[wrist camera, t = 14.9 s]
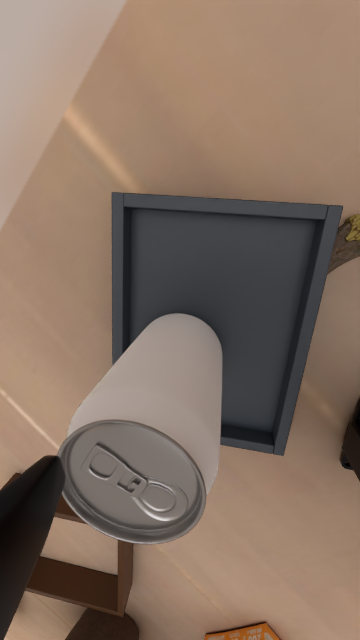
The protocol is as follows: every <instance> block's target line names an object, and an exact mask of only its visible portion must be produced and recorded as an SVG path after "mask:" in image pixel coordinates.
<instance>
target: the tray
mask: <svg viewBox="0 0 360 640" xmlns="http://www.w3.org/2000/svg"><path fill="white" fill-rule="evenodd" d="M342 210H343V206H338V205H322V204H305V203H288V202H271V201H254V200H237V199H220V198H203V197H186V196H169V195H152V194H135V193H118V192H112V357H113V365H114V364H115V363H116V361H117V360H118V359H119V358H120V357H121V356H122V355H123V353H124V352H125V351H126V350H127V349H128V348H129V346H130V345H131V344H132V343H133V342H134V341H135V339H136V338H137V337H138V336H139V335H140V334H141V333H142V332H143V330H144V329H145V328H146V327H147V326H148V325H149V324H150V323H151V322H153V321H154V320H156V319H157V318H159V317H161V316H164V315H168V314H174V313H181V314H187V315H191V316H194V317H196V318H199V319H200V320H202V321H204V322H205V323H206V324H207V325H209V326H210V327H211V328H212V330H213V331H214V332H215V334H216V335H217V337H218V339H219V341H220V344H221V348H222V402H221V434H220V445H225V446H231V447H236V448H242V449H248V450H253V451H259V452H265V453H270V454H272V453H273V454H275V455H281V456H283V455H284V451H285V447H286V443H287V439H288V435H289V431H290V426H291V422H292V418H293V414H294V410H295V406H296V401H297V397H298V393H299V389H300V385H301V381H302V376H303V372H304V368H305V364H306V360H307V356H308V351H309V347H310V343H311V339H312V335H313V331H314V326H315V322H316V318H317V314H318V310H319V305H320V301H321V297H322V293H323V289H324V285H325V280H326V276H327V272H328V268H329V264H330V260H331V255H332V251H333V247H334V243H335V239H336V235H337V230H338V226H339V222H340V218H341V214H342Z"/></svg>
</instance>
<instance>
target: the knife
mask: <svg viewBox="0 0 360 640" xmlns="http://www.w3.org/2000/svg"><path fill="white" fill-rule="evenodd" d="M358 256H360V215H353V216H351V217H349V218H348V219H346V220H345V224H344V225H342V226H341V227H339V228H338V230H337V235H336V239H335V243H334V247H333V251H332V255H331V260H330V264H329V268H328V272H327V274H328V273H330V272H331V271H332V270H334V269H335V268H337V267H338V266H340V265H341V264H343V263H345V262H347V261H349V260H351V259H353V258H356V257H358Z"/></svg>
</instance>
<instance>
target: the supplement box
mask: <svg viewBox="0 0 360 640" xmlns="http://www.w3.org/2000/svg"><path fill="white" fill-rule="evenodd" d="M205 640H280V639H279V638H278V637H277V636H276V634H275V633H274V632H273V631H272V630H271V629H270V627H269V626H268V625H267V624H266V623H264V624H259V625H256V626H251V627H246V628H242V629H237V630H233V631H228V632H223V633H216V634H207V635H205Z"/></svg>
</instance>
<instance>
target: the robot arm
mask: <svg viewBox="0 0 360 640" xmlns="http://www.w3.org/2000/svg"><path fill="white" fill-rule="evenodd" d="M342 450H343V451H342V454H341V457H340V462H341V464H342V466H343V467H344V468H346V469H350V470H354V472H355V474H356V475H357V477H358V479H359V481H360V399H359V401H358V405H357V408H356V411H355V414H354V417H353V420H352V421H351V422H350V423H349V427H348V430H347V433H346V436H345V439H344V442H343V445H342ZM348 461H349V462H348ZM346 462H348V463H346ZM65 479H66V478H65V472H64V468H63V465H62V461H61V458H60V457H59V456H51V455H48V456H44V457H43V458H41V459H40V460H39V461H37V462H36V463H35V464H34V465H32V466H31V467H30V468H28V469H27V470H26V471H25V472H23V473H22V474H21V475H20V476H18V477H17V478H16V479H14V480H13V481H12V482H11V483H9V484H8V485H7V486H6V487H4V488H3V489H2V490H0V640H4V638H5V635H6V633H7V631H8V628H9V626H10V624H11V621H12V619H13V617H14V614H15V612H16V610H17V607H18V605H19V603H20V600H21V598H22V596H23V594H24V591H25V589H26V587H27V584H28V582H29V580H30V577H31V575H32V573H33V570H34V568H35V566H36V563H37V561H38V559H39V556H40V554H41V552H42V549H43V547H44V544H45V541H46V539H47V536H48V533H49V530H50V527H51V524H52V521H53V518H54V515H55V512H56V509H57V506H58V503H59V500H60V497H61V494H62V491H63V488H64V485H65Z"/></svg>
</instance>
